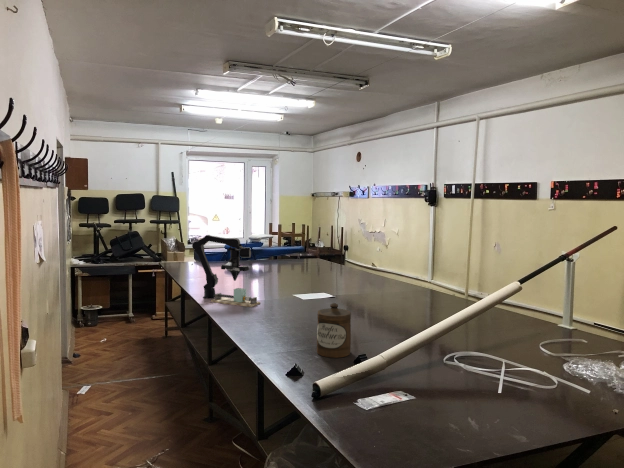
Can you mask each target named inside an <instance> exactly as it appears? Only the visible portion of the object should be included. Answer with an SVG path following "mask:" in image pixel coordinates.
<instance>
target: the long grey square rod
mask: <svg viewBox="0 0 624 468" xmlns="http://www.w3.org/2000/svg"><path fill="white" fill-rule="evenodd" d="M218 296H219V297H225V298H233V299H234V295H232V294H231V295H230V294H223V293H221V294H218ZM251 298H252V296H249V295H248V296H247V295H246V297H243V300H246V301H250V299H251ZM254 301H255V300H254Z"/></svg>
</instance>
